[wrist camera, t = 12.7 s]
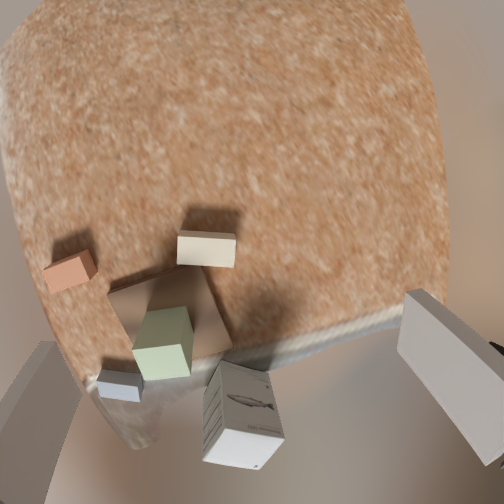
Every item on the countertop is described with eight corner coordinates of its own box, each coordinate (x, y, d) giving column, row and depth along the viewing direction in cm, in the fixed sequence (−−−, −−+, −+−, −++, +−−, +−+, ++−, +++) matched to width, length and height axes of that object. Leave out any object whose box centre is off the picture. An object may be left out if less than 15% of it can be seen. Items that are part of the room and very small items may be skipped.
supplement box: (269, 371, 41) (288, 439, 29) (247, 406, 43) (259, 472, 31) (220, 357, 39) (225, 427, 27) (201, 393, 41) (201, 462, 29)
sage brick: (146, 311, 35) (131, 349, 27) (186, 305, 35) (180, 343, 28) (155, 339, 36) (144, 380, 28) (193, 334, 36) (190, 375, 29)
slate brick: (105, 383, 39) (100, 396, 36) (101, 368, 38) (96, 381, 35) (143, 388, 40) (140, 402, 37) (141, 373, 39) (137, 386, 36)
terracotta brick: (61, 284, 34) (51, 293, 31) (52, 262, 33) (41, 271, 30) (98, 271, 34) (89, 280, 31) (88, 248, 33) (79, 256, 30)
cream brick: (179, 255, 35) (176, 264, 32) (180, 229, 34) (177, 236, 31) (232, 258, 36) (233, 267, 33) (234, 233, 35) (236, 239, 32)
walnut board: (109, 290, 35) (106, 294, 34) (199, 259, 35) (198, 262, 34) (150, 366, 39) (149, 371, 37) (233, 342, 39) (233, 348, 38)
